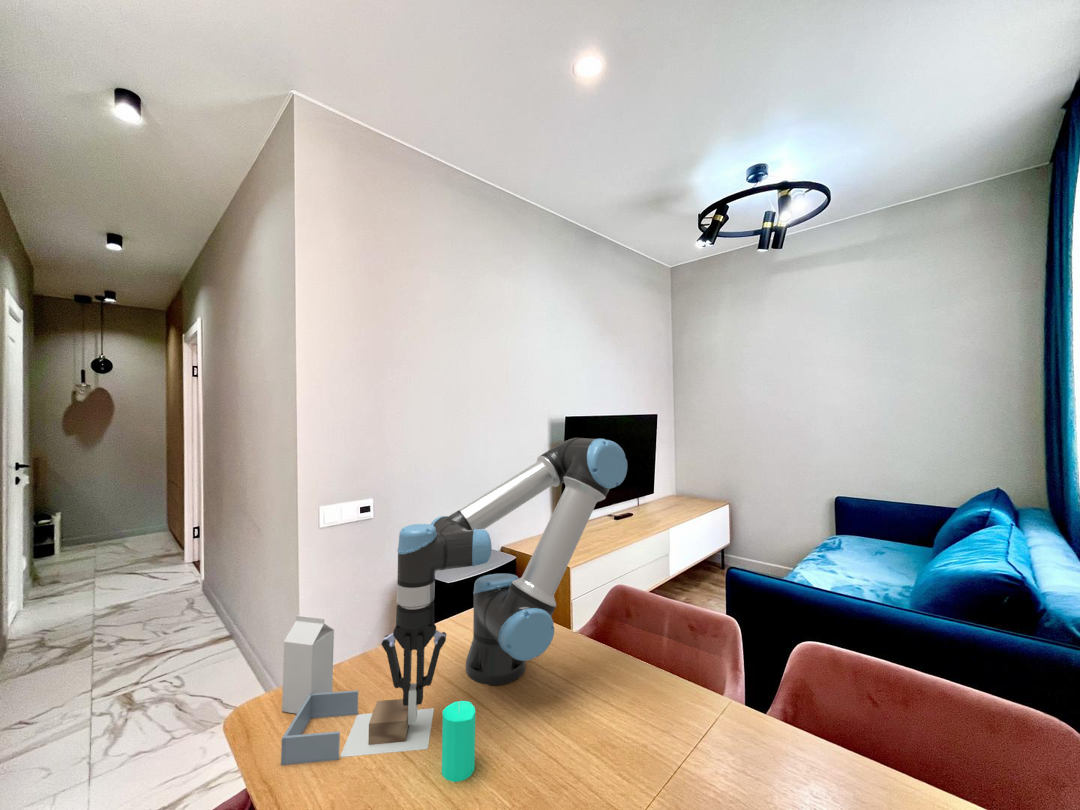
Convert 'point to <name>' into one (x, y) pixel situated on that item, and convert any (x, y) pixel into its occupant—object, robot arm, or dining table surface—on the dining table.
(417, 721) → the runner mat
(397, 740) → the brown block
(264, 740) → the dining table surface
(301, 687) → the milk carton
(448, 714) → the candle
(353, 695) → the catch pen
